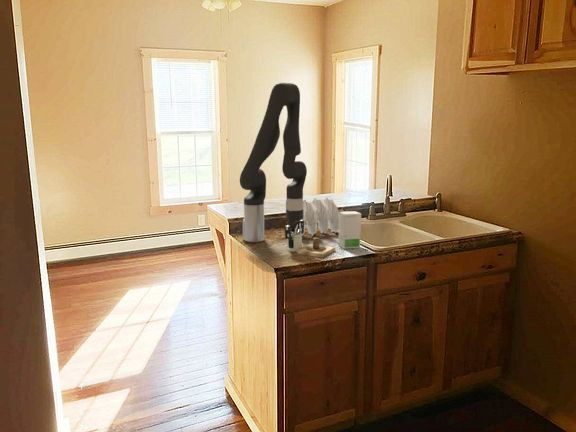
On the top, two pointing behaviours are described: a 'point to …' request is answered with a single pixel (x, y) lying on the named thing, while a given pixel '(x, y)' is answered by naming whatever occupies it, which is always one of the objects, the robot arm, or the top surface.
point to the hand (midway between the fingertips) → (294, 245)
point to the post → (316, 249)
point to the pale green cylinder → (296, 242)
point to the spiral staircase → (320, 216)
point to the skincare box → (349, 229)
